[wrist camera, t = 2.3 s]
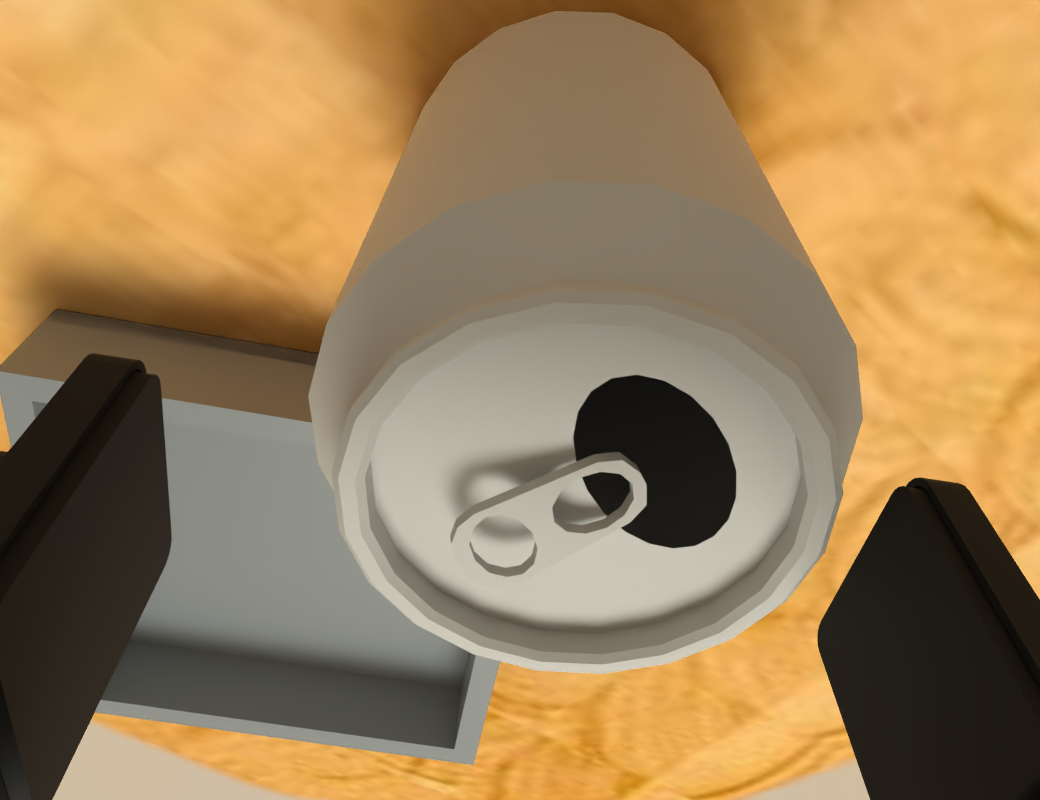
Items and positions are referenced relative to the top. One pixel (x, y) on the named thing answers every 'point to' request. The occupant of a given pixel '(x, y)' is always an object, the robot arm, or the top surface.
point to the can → (583, 363)
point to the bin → (258, 561)
